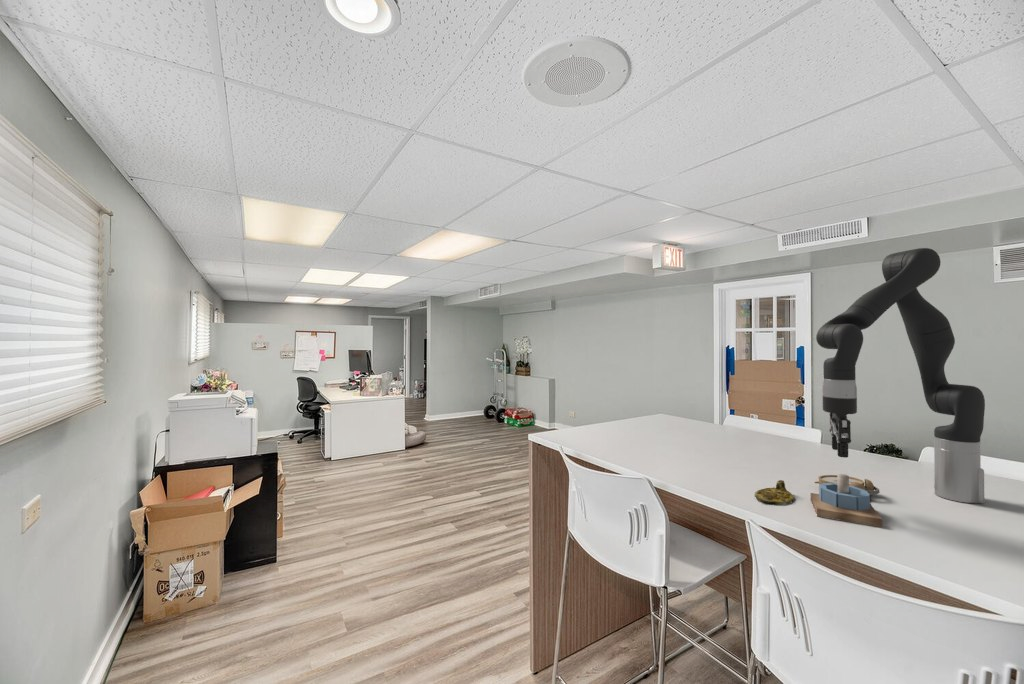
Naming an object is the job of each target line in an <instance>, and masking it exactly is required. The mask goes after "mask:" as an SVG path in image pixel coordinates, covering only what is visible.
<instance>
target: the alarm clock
mask: <svg viewBox="0 0 1024 684" xmlns="http://www.w3.org/2000/svg"><path fill="white" fill-rule="evenodd" d="M817 479H818V481H814V484H823V483H837V474H827V475H826V474H825V475H819V476H818V478H817ZM850 485H851V486H854V487H857V488H860V489H863V490H865V491H867V492H868V493H869V495H870V496H872V495H878V494H880V488H878V487H877V486H875V485H874V483H873V482H872V481H871V480H870V479H868V478H864V480H863V479H861V478H860V479H859V478H857V477H852V476H849V486H850Z"/></svg>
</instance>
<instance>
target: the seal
mask: <svg viewBox="0 0 1024 684" xmlns="http://www.w3.org/2000/svg"><path fill="white" fill-rule="evenodd" d="M755 497H756V500H757V501H758V502H759V503H761V504H767V505H773V504H774V506H784V505H783V504H787V505H790V504H792V503H793V502H794V501H795V497H794V494H792V493H791V492H790V491H789V490H787V488H786V483H785V481H784V480H782V479H778V480H777V481H776V484H775V487H766V488H761V489H759V490H757V491H755V492H754V498H755ZM791 502H792V503H791ZM789 503H790V504H789Z"/></svg>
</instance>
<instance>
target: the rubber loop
mask: <svg viewBox="0 0 1024 684" xmlns="http://www.w3.org/2000/svg"><path fill="white" fill-rule="evenodd" d="M818 484H819V483H818ZM818 489H819V490H818V494H819V497H820V500H821V501H822V502H824V503H827V504H830V505H832V506H835V507H838V508H844V509H850V510H858V511H859V510H866V509H870V504H871V495H869V493H868V492H867V491H865V490H863V489H860V488H857V487H854V486H851V485H850V486H849V494H842V493H838V483H823V484H819V485H818Z"/></svg>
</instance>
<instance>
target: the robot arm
mask: <svg viewBox="0 0 1024 684" xmlns="http://www.w3.org/2000/svg"><path fill="white" fill-rule="evenodd" d="M941 263H942V262H941V258H940V255H939V254H938V252H937V251H935V250H934V249H932V248H928V247H922V248H921V247H920V248H914V249H910V250H904V251H903V250H902V251H899V252H895V253H890V254H888V255H886V256H885V258H883V261H882V263H881V270H882V271H881V272H882V275H883V278H884V281H885V282H883V283H881V284H880V285H878V286H877V287H874V288H872V289H870V290H869V291H867V292H866V293H864V294H862V295H860V297H859V298H857V299H856V300H855V301H854V302H853V303H852V304H851V305H850V306H849V307H847V309H846V310H845V311H843V312H842V313H840V314H837V316H835V317H833V318H832V319H829V320H828V321H827V322H825V323H824V324H823V325H821V327H820V328H819V329H818V330H817V333H816V337H815V340H816V343H817V344H818V345H819V346H820V347H821V348H823V349H827V350H836V353H835V356H833V357H829V358H828V357H827V358H826V359H825V360H824V361H823V367H822V368H823V382H822V411H823V412H826V413H829V432H830V436H831V449H832V450H834V451H836V452H837V456H838V458H848V457H849V444H851V442H852V439H851V435H852V434H851V422H852V421H851V420H850V419H848V416H847V415H855V414H857V413H858V391H857V390H858V389H857V388H858V387H857V381H856V380H857V379H856V365H857V362H858V359H859V356H860V353H861V349H862V347H863V343H864V334H863V330H866V329H868V328H869V327H870V326H872V325H873V324H874V323H875V322H876V321H878V319H880V317H882V315H883V314H885V312H886V311H887V310H888V309H890V308H891V307H892V306H893V305H895V304H896V305H897V308H898V311H899V313H900V316H901V318H902V321H903V323H904V328H905V331H906V335H907V338H908V340H909V343H910V346H911V349H912V351H913V355H914V357H915V360H916V363H917V366H918V370H919V375H920V380H921V384H922V390H923V394H924V395H923V396H924V399H925V401H926V404H927V406H928V407H929V409H930V410H932V411H933V412H934V413H937V414H941V415H947V416H954V419H953V422H952V423H951V424H947V425H938V426H936V427H934V430H933V431H934V432H933V434H934V435H933V441H934V443H933V444H934V445H933V446H934V448H933V453H934V458H933V459H934V461H933V462H934V464H933V465H934V466H933V467H934V477H933V478H934V485H933V486H934V494H935V495H936V496H938V497H941V498H943V499H947V500H951V501H955V502H960V503H968V504H985V469H983V468H982V467H981V466H982V465H981V460H982V459H981V458H982V457H981V456H982V455H981V437H982V433H983V432H984V425H985V424H984V421H985V411H986V409H985V408H986V401H985V395H984V393H983V391H982V390H981V389H980V388H979V387H977V386H975V385H968V384H967V385H966V384H957V383H955V384H954V383H949V381H948V379H947V377H946V372H945V366H946V362H947V360H948V359H949V357H950V355H951V353H952V351H953V349H954V348H955V344H956V343H955V342H956V339H955V336H954V332H953V328H952V327H951V323H950V321H949V319H948V318H947V316H946V315H945V314H944V313H943V312H941V310H939V309H938V308H937V307H935V306H934V305H933V304H932V303H930V302H929V301H928V300H927V299H925V298H924V296H923V295H922V294H921V293H920V291H919V290H918V287H920V286H921V285H922V284H924V283H926V282H927V281H929V280H930V279H932V278H933V277H934V276H936V275H937V273H938V271H939V270H940V267H941Z"/></svg>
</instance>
